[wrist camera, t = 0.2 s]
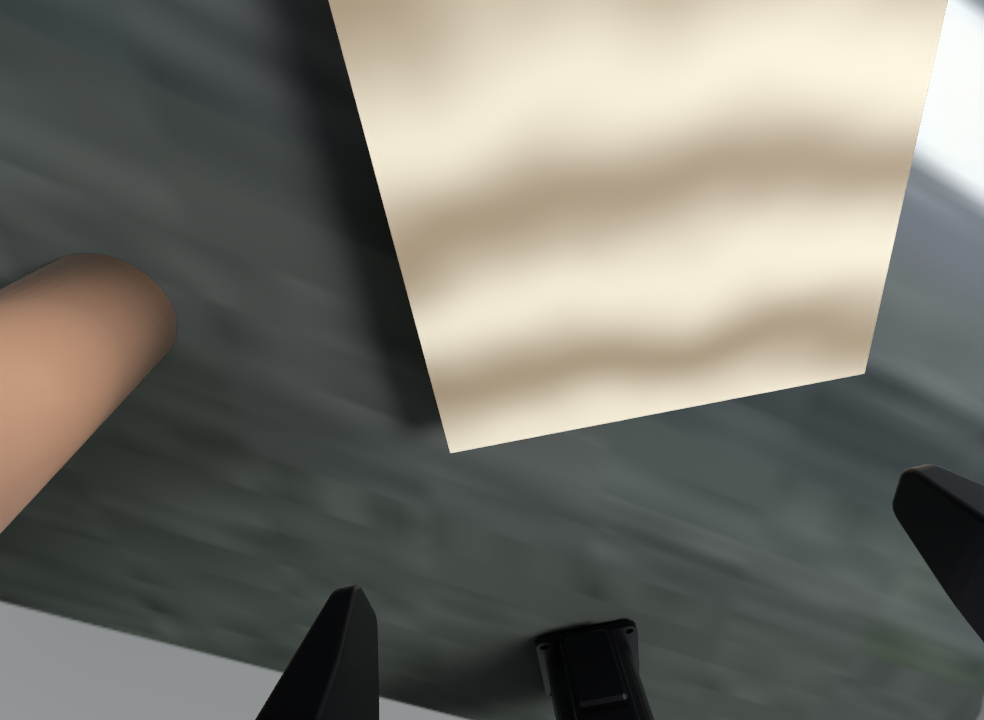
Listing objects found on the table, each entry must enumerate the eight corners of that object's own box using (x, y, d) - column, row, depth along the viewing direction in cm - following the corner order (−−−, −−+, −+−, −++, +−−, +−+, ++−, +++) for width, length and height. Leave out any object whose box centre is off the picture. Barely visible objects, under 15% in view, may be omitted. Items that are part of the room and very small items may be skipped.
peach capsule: (198, 356, 22) (16, 582, 12) (81, 379, 22) (-193, 622, 12) (138, 241, 19) (-149, 412, 10) (6, 267, 19) (-407, 463, 10)
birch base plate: (826, 346, 25) (864, 373, 22) (449, 418, 25) (450, 453, 22) (918, -178, 16) (996, -217, 13) (324, -61, 16) (306, -82, 14)
